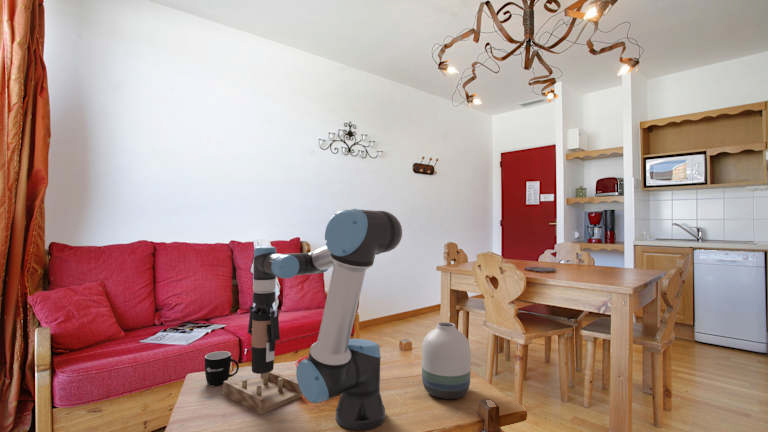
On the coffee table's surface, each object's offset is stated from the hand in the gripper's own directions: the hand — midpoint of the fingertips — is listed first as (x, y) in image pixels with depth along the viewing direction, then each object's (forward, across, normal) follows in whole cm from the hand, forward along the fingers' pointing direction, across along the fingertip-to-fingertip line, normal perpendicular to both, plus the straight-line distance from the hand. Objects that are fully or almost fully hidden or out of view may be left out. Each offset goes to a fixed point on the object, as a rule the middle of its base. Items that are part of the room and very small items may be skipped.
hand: (262, 357), depth 130 cm
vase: (+13, -48, -42) cm, 65 cm away
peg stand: (+13, 0, 0) cm, 13 cm away
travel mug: (+4, 0, 0) cm, 4 cm away
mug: (+13, +21, +3) cm, 25 cm away
